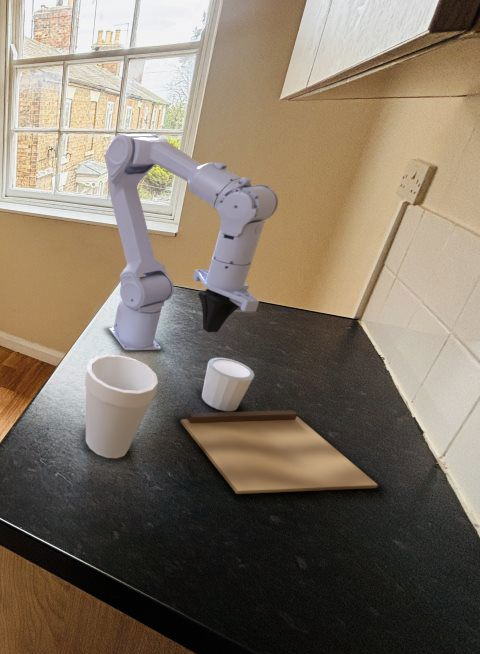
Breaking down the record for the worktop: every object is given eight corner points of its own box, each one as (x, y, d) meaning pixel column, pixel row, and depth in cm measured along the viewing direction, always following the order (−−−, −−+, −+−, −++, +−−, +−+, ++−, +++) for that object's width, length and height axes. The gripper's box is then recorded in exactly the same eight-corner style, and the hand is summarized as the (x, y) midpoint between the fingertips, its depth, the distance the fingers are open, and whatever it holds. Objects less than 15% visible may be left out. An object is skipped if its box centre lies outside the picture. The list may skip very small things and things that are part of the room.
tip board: (180, 422, 66) (182, 413, 66) (295, 418, 68) (299, 409, 67) (236, 494, 54) (240, 484, 53) (376, 488, 55) (382, 478, 54)
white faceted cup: (248, 416, 68) (262, 382, 65) (204, 410, 69) (216, 376, 66) (233, 391, 74) (244, 359, 71) (193, 386, 75) (202, 354, 72)
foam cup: (151, 462, 58) (172, 390, 53) (91, 470, 57) (106, 396, 51) (119, 418, 67) (133, 352, 61) (66, 424, 65) (76, 356, 60)
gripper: (287, 274, 62) (259, 350, 67) (226, 247, 75) (207, 312, 81) (243, 275, 61) (219, 351, 67) (190, 247, 75) (173, 313, 80)
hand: (210, 330), depth 74 cm, fingers closed
